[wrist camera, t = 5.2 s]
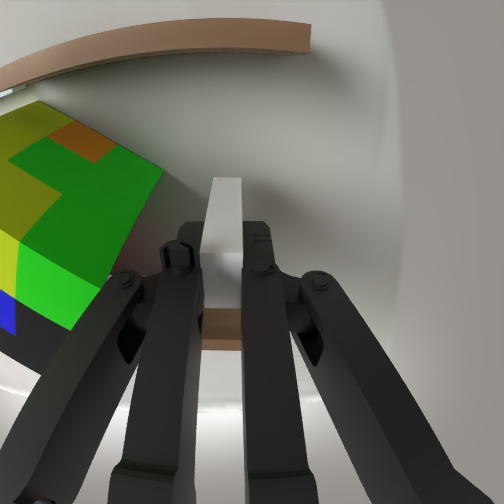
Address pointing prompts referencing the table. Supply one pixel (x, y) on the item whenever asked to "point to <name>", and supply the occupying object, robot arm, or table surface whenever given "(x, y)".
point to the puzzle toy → (59, 224)
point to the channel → (164, 43)
